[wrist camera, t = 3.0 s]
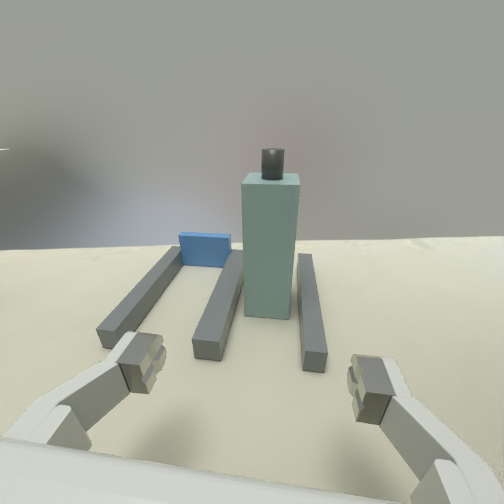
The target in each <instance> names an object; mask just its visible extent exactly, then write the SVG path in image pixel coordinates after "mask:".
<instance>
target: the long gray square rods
mask: <svg viewBox="0 0 504 504" xmlns="http://www.w3.org/2000/svg"><path fill="white" fill-rule="evenodd" d="M179 242H180V246H172V247H171V248H170V249H169V250H168V251H167V252H166V254H165V255H164V256H163V257H162V258H161V259H160V260H159V261H158V262H157V263H156V264H155V265H154V267H153V268H152V269H151V270H150V271H149V272H148V273H147V274H146V275H145V276H144V277H143V279H142V280H141V281H140V282H139V283H138V284H137V285H136V286H135V287H134V288H133V289H132V290H131V292H130V293H129V294H128V295H127V296H126V297H125V298H124V299H123V300H122V301H121V302H120V303H119V305H118V306H117V307H116V308H115V309H114V310H113V311H112V312H111V313H110V314H109V315H108V316H107V318H106V319H105V320H104V321H103V322H102V323H101V324H100V325H99V326H98V327H97V328H96V331H97V333H98V336H99V338H100V341H101V343H102V346H103V348H110V349H113V348H114V347H115V346H116V344H117V343H118V342H119V340H120V339H121V338H122V337H123V335H124V334H125V333H126V332H128V331H132V332H134V331H135V330H136V329H137V327H138V326H139V324H140V323H141V322H142V320H143V319H144V318H145V316H146V315H147V314H148V312H149V311H150V309H151V308H152V307H153V305H154V304H155V303H156V301H157V300H158V298H159V297H160V296H161V294H162V293H163V292H164V290H165V289H166V287H167V286H168V285H169V283H170V282H171V281H172V279H173V278H174V277H175V275H176V274H177V272H178V271H179V270H180V268H181V267H182V266H183V265H195V266H210V267H223V270H222V272H221V274H220V276H219V279H218V281H217V283H216V285H215V288H214V290H213V292H212V295H211V297H210V299H209V301H208V304H207V306H206V308H205V310H204V313H203V315H202V317H201V319H200V322H199V324H198V326H197V328H196V331H195V333H194V335H193V337H192V344H193V350H194V356H195V358H199V359H208V360H217V361H221V358H222V355H223V351H224V348H225V344H226V341H227V337H228V334H229V330H230V327H231V323H232V319H233V316H234V312H235V309H236V305H237V302H238V298H239V295H240V291H241V288H242V284H243V281H244V272H243V250H232V249H231V235H230V234H213V233H212V234H211V233H194V232H181V233H180V234H179ZM297 278H298V296H299V315H300V333H301V352H302V370H306V371H315V372H324V370H325V365H326V360H327V355H328V351H327V345H326V339H325V333H324V327H323V321H322V315H321V309H320V303H319V297H318V291H317V285H316V279H315V273H314V267H313V261H312V255H311V254H301V253H298V262H297Z"/></svg>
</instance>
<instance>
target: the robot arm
mask: <svg viewBox="0 0 504 504" xmlns="http://www.w3.org/2000/svg"><path fill="white" fill-rule="evenodd" d="M162 343H163V337H162V335H156V334H149V333H141V332H132V331H128V332H126V333H125V334H124V335H123V337H122V338H121V339H120V340H119V342H118V343H117V344H116V346H115V347H114V348H113V350H112V351H111V352H110V353H109V355H108V356H107V357H106V359H105V360H104V361H103V362H101V361H100V362H98V363H96V364H95V365H93V366H91V367H90V368H88V369H86V370H85V371H83V372H81V373H80V374H78V375H76V376H75V377H73V378H71V379H70V380H68V381H66V382H65V383H63V384H61V385H59V386H58V387H56V388H54V389H53V390H51V391H49V392H48V393H46V394H44V395H43V396H41V397H39V398H38V399H36V400H35V401H34V402H33V403H32V404H31V405H30V406H29V408H28V409H27V410H26V411H25V412H24V413H23V414H22V415H21V416H20V417H19V419H18V420H17V421H16V422H15V423H14V424H13V425H12V426H11V427H10V428H9V430H8V431H7V432H6V433H5V434H4V435H3V436H2V437H0V504H405V503H399V502H393V501H387V500H381V499H375V498H369V497H363V496H357V495H351V494H345V493H339V492H332V491H326V490H320V489H314V488H308V487H302V486H296V485H290V484H284V483H278V482H272V481H266V480H260V479H254V478H248V477H242V476H236V475H230V474H224V473H218V472H212V471H206V470H200V469H194V468H188V467H182V466H176V465H170V464H164V463H158V462H152V461H146V460H140V459H134V458H127V457H121V456H115V455H109V454H103V453H97V452H91V451H89V449H90V447H91V446H92V442H91V440H90V438H89V436H88V435H87V433H86V431H88V430H89V429H90V428H91V427H92V426H93V425H94V424H96V423H97V422H98V421H99V420H100V419H101V418H102V417H104V416H105V415H106V414H107V413H108V412H109V411H110V410H112V409H113V408H114V407H115V406H116V405H117V404H118V403H120V402H121V401H122V400H123V399H124V398H125V397H126V396H128V395H129V394H130V392H131V393H141V394H149V393H150V391H151V389H152V388H153V386H154V384H155V382H156V380H157V379H156V374H157V373H158V372H159V371H161V370H162V368H163V366H164V363H165V360H166V349H165V347H164V346H163V345H162ZM351 363H352V366H351V367H349V369H348V373H347V382H348V389H349V393H350V394H351V395H352V396H353V397H354V398H353V401H352V407H353V411H354V416H355V420H356V422H362V423H368V424H374V425H380V426H379V427H380V428H381V429H382V431H383V432H384V433H385V435H386V436H387V438H388V439H389V440H390V442H391V443H392V444H393V446H394V447H395V448H396V450H397V451H398V452H399V454H400V455H401V456H402V458H403V459H404V460H405V462H406V463H407V464H408V466H409V467H410V468H411V470H412V471H413V472H414V474H415V475H416V476H417V478H418V479H419V480H420V483H419V484H418V486H417V487H416V488H415V490H414V491H413V493H412V494H411V496H410V498H411V501H412V504H504V490H503V488H502V487H501V485H500V483H499V481H498V480H497V478H496V476H495V474H494V473H493V471H492V469H491V468H490V466H489V465H488V464H487V463H486V462H485V461H484V460H483V459H482V458H481V457H480V456H479V455H478V454H476V453H475V452H474V451H473V450H472V449H471V448H470V447H469V446H468V445H467V444H466V443H465V442H463V441H462V440H461V439H460V438H459V437H458V436H457V435H456V434H455V433H454V432H453V431H451V430H450V429H449V428H448V427H447V426H446V425H445V424H444V423H443V422H442V421H441V420H439V419H438V418H437V417H436V416H435V415H434V414H433V413H432V412H431V411H430V410H429V409H428V408H426V407H425V406H424V405H423V404H422V403H421V402H420V401H419V400H418V399H414V398H412V395H411V393H410V391H409V389H408V387H407V384H406V382H405V380H404V378H403V376H402V373H401V371H400V369H399V367H398V365H397V362H396V360H395V359H394V358H388V357H379V356H369V355H357V354H353V355H352V358H351Z"/></svg>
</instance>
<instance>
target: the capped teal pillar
mask: <svg viewBox="0 0 504 504" xmlns="http://www.w3.org/2000/svg"><path fill="white" fill-rule="evenodd" d="M283 166H284V149H278V148H270V149H269V148H268V149H262V173H249V174H248V175H247V177H246V178H245V179H244V181H243V182H242V184H241V185H242V186H241V188H242V229H243V272H244V313H245V316H251V317H263V318H274V319H285V320H289V308H290V297H291V285H292V274H293V262H294V251H295V239H296V227H297V216H298V204H299V193H300V181H299V175H298V174H289V173H288V174H287V173H286V174H285V173H283Z"/></svg>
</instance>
